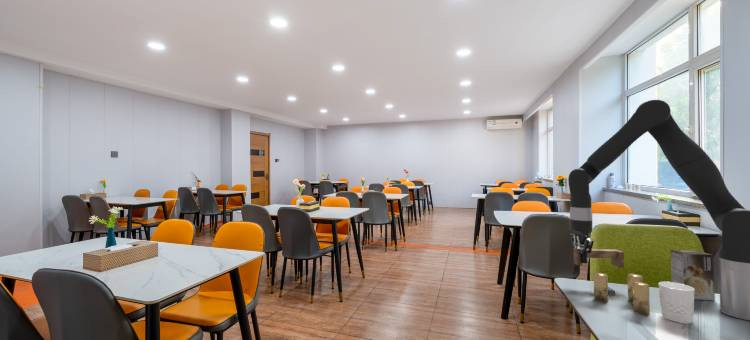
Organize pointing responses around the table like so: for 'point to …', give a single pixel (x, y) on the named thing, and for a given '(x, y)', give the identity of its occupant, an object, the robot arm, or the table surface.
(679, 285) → the white cup
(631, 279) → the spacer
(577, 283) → the table surface
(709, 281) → the coffee box
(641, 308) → the cylinder
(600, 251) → the rake
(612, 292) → the grey square block
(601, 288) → the cylinder
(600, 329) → the table surface
